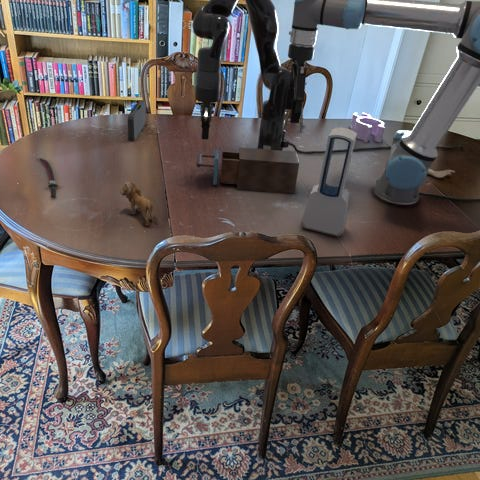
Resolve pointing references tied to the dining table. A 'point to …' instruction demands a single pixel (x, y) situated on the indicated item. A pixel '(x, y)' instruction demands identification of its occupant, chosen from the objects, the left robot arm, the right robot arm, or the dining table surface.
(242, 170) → the cabinet
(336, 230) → the electronic device
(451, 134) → the dining table surface
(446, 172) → the jawbone
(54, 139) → the dining table surface
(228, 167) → the drawer
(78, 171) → the dining table surface
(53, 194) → the sword
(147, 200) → the lion figurine
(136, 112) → the handheld gaming console
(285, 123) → the miniature windmill
